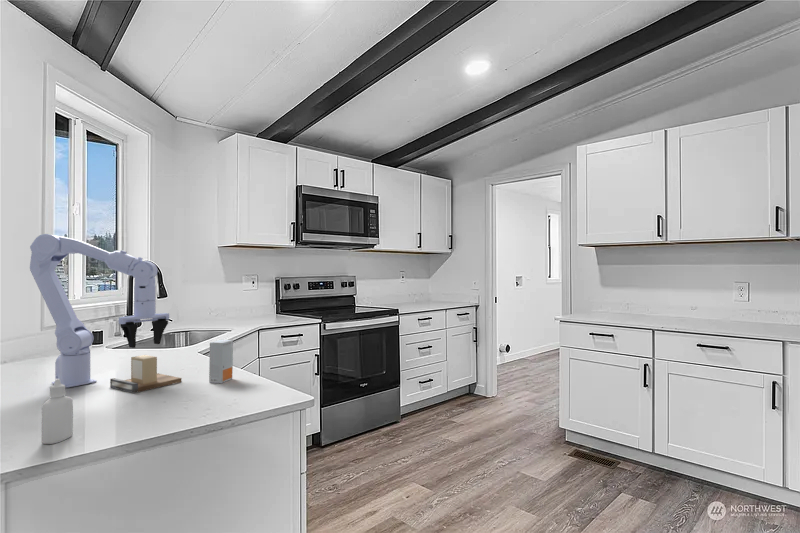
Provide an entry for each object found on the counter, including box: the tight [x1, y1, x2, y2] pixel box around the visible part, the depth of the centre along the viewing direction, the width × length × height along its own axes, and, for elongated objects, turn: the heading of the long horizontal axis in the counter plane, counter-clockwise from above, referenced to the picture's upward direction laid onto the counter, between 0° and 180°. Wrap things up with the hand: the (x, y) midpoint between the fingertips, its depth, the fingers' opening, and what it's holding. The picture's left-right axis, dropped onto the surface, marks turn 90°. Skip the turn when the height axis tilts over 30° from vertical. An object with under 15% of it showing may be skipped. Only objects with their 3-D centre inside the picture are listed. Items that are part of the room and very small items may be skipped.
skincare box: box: [208, 339, 234, 384], centre depth 139 cm, size 6×4×12 cm
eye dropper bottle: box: [41, 378, 74, 445], centre depth 92 cm, size 4×6×12 cm
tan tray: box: [109, 372, 182, 394], centre depth 134 cm, size 12×14×2 cm
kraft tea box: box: [130, 354, 158, 384], centre depth 134 cm, size 4×6×7 cm, turn 59°
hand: (144, 345), depth 140 cm, fingers open, 7 cm apart
